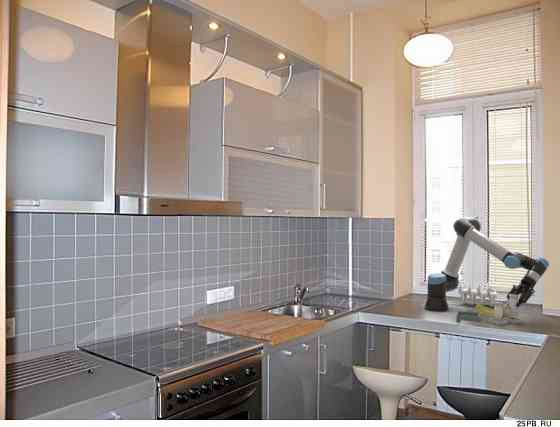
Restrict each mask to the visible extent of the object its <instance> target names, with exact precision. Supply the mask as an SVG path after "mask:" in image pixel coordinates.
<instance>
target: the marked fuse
mask: <svg viewBox="0 0 560 427" xmlns="http://www.w3.org/2000/svg"><path fill="white" fill-rule="evenodd" d="M519 295H520V294H519ZM519 295H516V294H509V297H510V300H509V308H508V309H509V310H508V311H509V312H508V314H509V317H519V307H518V308H517V309H516V310H515V312H513V311H512V310H511V308H512V306H513V305H514V304H515V302H516V301H517V300H518V299H519V298H520V296H519ZM518 301H519V300H518Z"/></svg>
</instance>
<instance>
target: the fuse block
mask: <svg viewBox="0 0 560 427" xmlns="http://www.w3.org/2000/svg"><path fill="white" fill-rule="evenodd" d="M486 323H488V324H490V325H491V324H492V325H495V326H499V327H500V326H510V325H518V324H519V325H520V324H524V322H523V318H518V317H516V316H509V317H503V321H496V320H494V317H493V318H488V321H486Z"/></svg>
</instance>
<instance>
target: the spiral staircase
mask: <svg viewBox="0 0 560 427" xmlns="http://www.w3.org/2000/svg"><path fill="white" fill-rule="evenodd" d="M471 284H472V283H471V280H470V279H469V280H468V282H467V286H466V288H463V287H462V280H461V278H460V279H459V285H458V287H457V289H458V290H457V291H458V292H457V293H458V295H459V296H460V297H461V303H462V305H465V303H466V301H467V298H468V297H469V299H470V301H471V302H470V303H471V306H472V307H473V305H475V304H476V299H477V298H476V297H479V300H480V302H481V305H483V306H484V304H485V302H486V298H488V299H489V301H490V304H491V305H490V307H491V308H492V307H494V302H495V301H496V299H498V292H497V289H496V288H495V289H494V290H493V291H494V292H493V291H491V288H490V287H491V284H490V282H489V280H487V282H486V288H485V289H484V291H483V290H482V287H481V282H480V280H479V279H478V282H477V285H476V288H475V289H472V288H471V287H472V285H471Z"/></svg>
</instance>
